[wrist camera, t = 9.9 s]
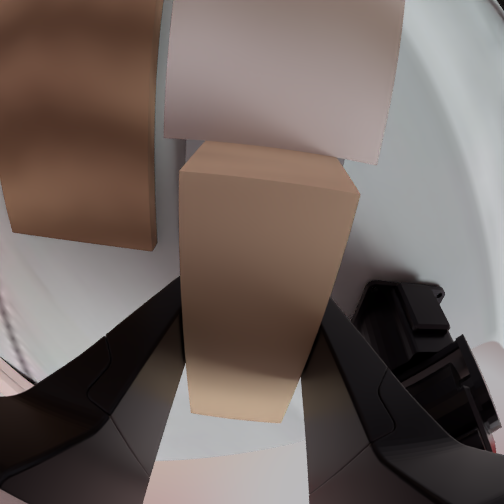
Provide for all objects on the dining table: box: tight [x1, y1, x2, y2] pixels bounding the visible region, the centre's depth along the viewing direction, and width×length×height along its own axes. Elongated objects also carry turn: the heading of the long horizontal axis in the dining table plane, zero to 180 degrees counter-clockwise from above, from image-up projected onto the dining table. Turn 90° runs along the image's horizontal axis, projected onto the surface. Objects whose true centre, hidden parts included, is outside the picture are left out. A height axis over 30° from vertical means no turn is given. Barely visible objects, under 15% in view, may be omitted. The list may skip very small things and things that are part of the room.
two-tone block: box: [164, 0, 405, 423], centre depth 6 cm, size 15×5×3 cm, turn 174°
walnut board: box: [0, 0, 163, 251], centre depth 11 cm, size 27×12×1 cm, turn 174°
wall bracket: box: [0, 358, 34, 396], centre depth 34 cm, size 10×7×28 cm
